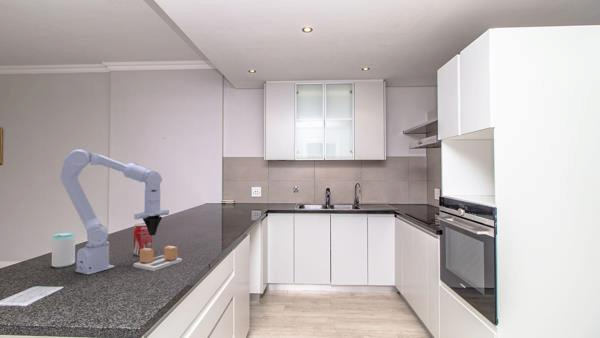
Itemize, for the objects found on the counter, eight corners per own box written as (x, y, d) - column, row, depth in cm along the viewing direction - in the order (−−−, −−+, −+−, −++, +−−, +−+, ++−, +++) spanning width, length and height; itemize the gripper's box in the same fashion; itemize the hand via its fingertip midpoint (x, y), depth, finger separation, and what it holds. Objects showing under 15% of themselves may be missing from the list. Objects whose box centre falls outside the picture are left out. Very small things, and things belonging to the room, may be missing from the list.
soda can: (155, 252, 137) (155, 222, 137) (145, 256, 130) (145, 225, 130) (140, 251, 138) (140, 222, 138) (129, 256, 131) (129, 225, 131)
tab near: (171, 260, 119) (171, 247, 119) (164, 258, 121) (164, 246, 121) (177, 258, 122) (177, 246, 122) (170, 257, 124) (170, 245, 124)
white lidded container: (62, 269, 114) (62, 236, 114) (46, 267, 115) (46, 235, 115) (79, 263, 120) (79, 232, 121) (64, 262, 122) (64, 231, 122)
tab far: (146, 262, 116) (146, 250, 116) (139, 261, 118) (139, 248, 118) (153, 260, 119) (153, 248, 119) (146, 259, 120) (146, 247, 120)
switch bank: (153, 271, 111) (153, 267, 111) (133, 266, 116) (133, 263, 116) (181, 261, 123) (181, 258, 123) (162, 258, 128) (162, 254, 128)
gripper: (143, 203, 116) (142, 239, 116) (174, 200, 129) (174, 232, 129) (130, 202, 119) (130, 237, 119) (162, 199, 132) (162, 231, 132)
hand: (152, 235), depth 124 cm, fingers closed
